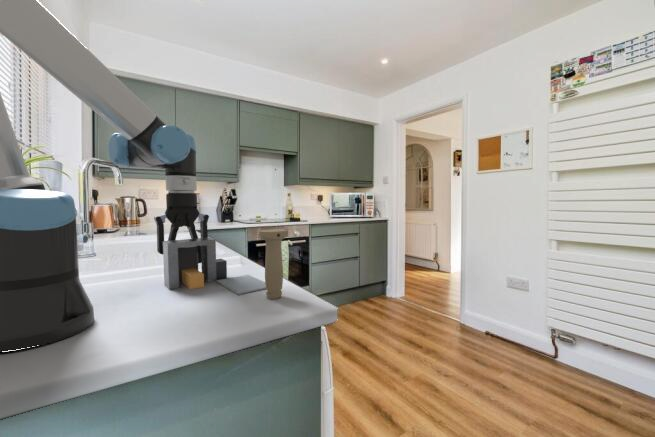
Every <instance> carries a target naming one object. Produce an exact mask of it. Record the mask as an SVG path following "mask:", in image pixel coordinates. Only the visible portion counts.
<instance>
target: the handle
mask: <svg viewBox="0 0 655 437" xmlns="http://www.w3.org/2000/svg"><path fill="white" fill-rule="evenodd" d="M288 236H289V230H288V229H286V228H274V229H260V230H258V237H259V238H260V239H262V240H264V241H265V259H264V260H265V261H264V262H265V263H264V264H265V265H264V279H265V281H264V282H265V283H266V289H265V290H266V294H265V295H266V297H267V299H271V300H273V299H274V300H277V299H279V298H281V297H282V295H283V290H282V289H283V284H284V283H283V282H284V268H283V267H284V266H283V264H284V263H283V253H282V252H283V251H282V241H283V239H285V238H287V237H288Z"/></svg>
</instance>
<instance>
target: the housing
mask: <svg viewBox="0 0 655 437" xmlns="http://www.w3.org/2000/svg"><path fill="white" fill-rule="evenodd" d="M216 242H217V241H216V238H212V237H208V238H201V237H200V238H199V237H198V238H197V239H191V238H187V239H176V240H172V241H168V240H164V241H163V254H162V256H163V258H162V259H163V278H164V279H163V280H164V282H163V284H164V286H165V287H166V288H167V289H168V290H169V291H170V290H175V289H179V288H180V282H179V271H178V248H179V247H189V246H200V245H201V263H200V264H201V273H203V274H204V282H207V283H214V282H216V280H221V279H227V278H228V270H227V269H228V267H227V266H228V265H227V263H228V262H227V260H225V259H223V258H217V249H216V248H217V247H216V246H217V244H216Z"/></svg>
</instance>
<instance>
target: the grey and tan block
mask: <svg viewBox="0 0 655 437" xmlns="http://www.w3.org/2000/svg"><path fill="white" fill-rule="evenodd" d="M178 271H179V283H182V284H184V285H185V286H186V287H187V288H188V289H189V290H194V289H199V288H204V287H205V280H204V274H203V273H202V271H199V263H198V254H197V246H189V247H179V248H178Z"/></svg>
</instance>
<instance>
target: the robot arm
mask: <svg viewBox="0 0 655 437" xmlns="http://www.w3.org/2000/svg"><path fill="white" fill-rule="evenodd" d="M0 35H2V36H3V37H4V38H6V39H7V40H8V41H9V42H11V43H12V44H13V45H14V46H15V47H17V48H18V49H19V50H20V51H21V52H23V53H24V54H25V55H26V56H27V57H28V58H30V59H31V60H33V62H34V63H36V64H37V65H38V66H39V67H40V68H42V69H43V70H44V71H45V72H46V73H48V74H49V75H50V76H52V77H53V78H54V79H55V80H56V81H57V82H58V83H60V84H61V85H62V86H63V87H64V88H66V90H68V91H69V92H71V94H73V95H75V97H77V98H78V99H79V100H80V101H81V102H83V103H84V104H85V105H86V106H87V107H88V108H90V109H91V110H92V111H93V112H95V113H96V114H97V115H98V116H99V117H100V118H102V119H103V120H104V121H105V122H107V123H108V124H109V125H110V126H111V127H113V129H115V130H116V131H117V132H115V133H112V134H111V136H110V137H109V140H108V145H107V146H108V148H107V151H108V156H109V160H110V161H111V163H112V164H113V165H115V166H118V167H119V166H121V167H126V168H142V169H143V168H144V169H145V168H146V169H160V170H164V172H165V173H164V175H165V191H166V192H167V193H166V194H165V197H166V198H165V199H166V200H165V201H166V210H165V212H164V214H161V215H155V216H154V217H153V220H154V222H155V224H156V246H157V247H156V248H157V249H156V251H157V253H159V254H160V255H163V241H165V225H164V223H166V219H167V220H168V221H169V222H170V223H171V225H170V230H169V235H168V239H167V241H172V240H177V239H176V238H177V236H178V231H179V229H180V228H182V227H186V228H187V231H188V233H189V236H190V239H197V238H199V236H198V233H197V230H196V225H195V221H196V220H197V219H198V220H199V222H200V223H199V224H200V225H199V229H200V238H209V233H208V221H209V218H210V216H209V215H208V214H206V213H205V214H204V213H200V211H199V208H198V194H197V193H196V192H197V189H198V187H197V155H196V154H197V151H196V150H197V149H196V140H195V138H194V136H192V135H191V134H189V133H186V131H184V130H183V129H182V128H180V127H178V126H176V125H173V124H172V125H171V124H166V123H165V122H164V121H163V120H162V119H161V118H160V117H159V116H158V115H156V114H155V112H153V111H152V109H150V108H149V107H148V105H146V104H145V103H144V102H143V101H142V100H141V99H140V98H139V97H138V96H137V95H136V94H135V93H134V92H133V91H131V89H129V87H127V85H126V84H124V83H123V82H122V81H121V80H120V79H119V78H118V77H117V76H116V75H115V74H114V72H112V71H111V70H110V69H109V68H108V66H106V65H105V64H104V63H102V61H101V60H99V58H97V56H95V54H94V53H92V52H91V51H90V50H89V48H87V47H86V46H85V44H83V43H82V42H81V41H80V40H79V39H78V38H77V37H76V36H75V35H74V34H73V33H72V32H71V31H69V29H68V28H66V26H64V25H63V24H62V23H61V21H60V20H58V19H57V17H56V16H54V15H53V14H52V13H51V12H50V11H49V10H48V9H47V8H46V7H45V6H44V5H43V4H42V3H41V2H40V1H39V0H0ZM77 215H78V210H77V209H76V205H75V200H74V197H73V196H72V195H70V194H68V193H66V192H62V191H57V190H56V191H55V190H48V189H47V190H46V188H45V184H44V182H42V181H40V180H38V179H36V178H35V177H32V176H31V174H30V172H29V170H28V167H27V165H26V161H25V159H24V156H23V152H22V150H21V148H20V144H19V142H18V138H17V136H16V134H15V130H14V128H13V125H12V122H11V119H10V116H9V113H8V111H7V107H6V105H5V102H4V99H3V96H2V94H1V92H0V352H2V351H8V350H16V349H21V348H27V347H32V346H37V345H42V346H44V345H43V344H45V345H48V344H47V343H49V344H52V343H55V342H57V341H58V342H59V341H60V340H64V339H66V338H69V337H72V336H74V335H76V334H78V333H80V332H83V331H84V330H86V329H87V328H89V327H90V326H91V325H92V324H93V323H94V321H95V312H94V311H95V310H94V306H93V304H92V302H91V300H90V298H89V296H88V293H87V292H86V290H85V287H84V286H83V284H82V282H81V280H80V279H81V278H80V273H79V272H80V271H79V253H78V252H79V251H78V234H77V232H78V230H77ZM197 254H198V264H201V245H200V246H197Z"/></svg>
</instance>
